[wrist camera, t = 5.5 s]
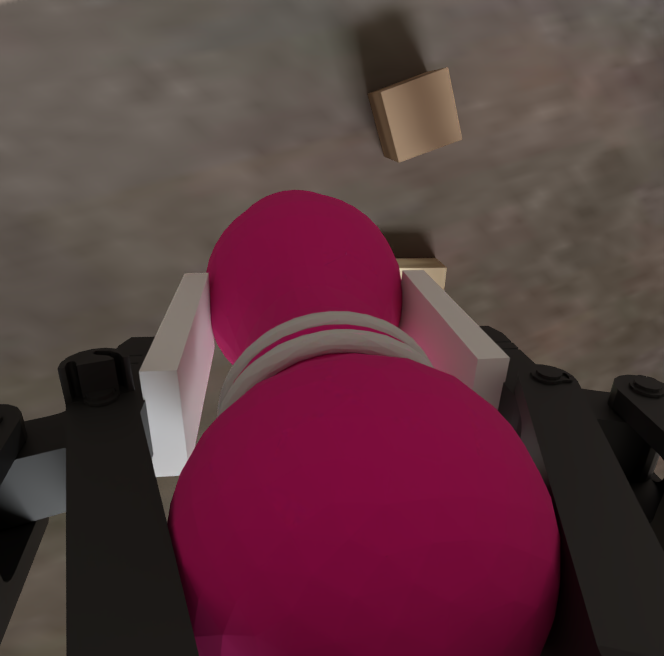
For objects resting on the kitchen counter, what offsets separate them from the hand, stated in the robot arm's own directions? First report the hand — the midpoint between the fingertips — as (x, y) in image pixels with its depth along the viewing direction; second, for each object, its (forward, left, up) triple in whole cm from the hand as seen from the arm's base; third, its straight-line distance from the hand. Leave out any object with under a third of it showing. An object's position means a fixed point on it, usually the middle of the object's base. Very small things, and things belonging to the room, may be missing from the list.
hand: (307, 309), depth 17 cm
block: (+10, +6, -27) cm, 29 cm away
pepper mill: (0, 0, -6) cm, 6 cm away
